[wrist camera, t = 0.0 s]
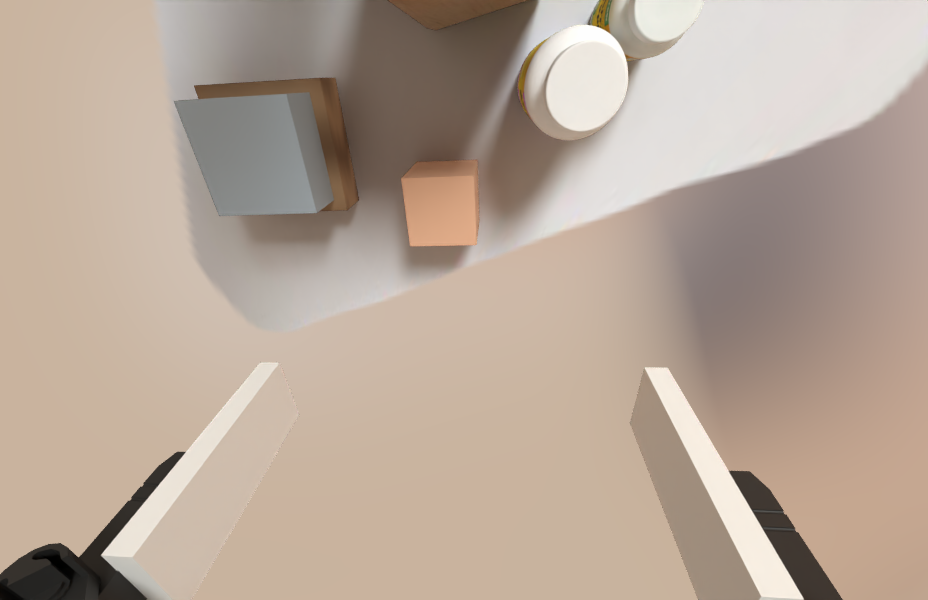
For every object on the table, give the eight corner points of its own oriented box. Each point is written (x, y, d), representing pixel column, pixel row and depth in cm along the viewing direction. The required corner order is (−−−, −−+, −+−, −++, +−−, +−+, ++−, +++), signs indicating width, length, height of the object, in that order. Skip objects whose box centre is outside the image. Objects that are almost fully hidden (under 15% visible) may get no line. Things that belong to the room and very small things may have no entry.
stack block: (416, 161, 37) (401, 178, 31) (477, 159, 36) (473, 175, 30) (423, 220, 40) (410, 246, 34) (479, 219, 39) (476, 245, 33)
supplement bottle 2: (657, 52, 31) (715, 44, 23) (590, 70, 32) (622, 67, 24) (658, -30, 28) (725, -74, 20) (585, -9, 29) (621, -43, 21)
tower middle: (208, 98, 32) (173, 101, 29) (309, 92, 31) (286, 94, 28) (245, 202, 37) (219, 216, 33) (334, 200, 36) (316, 213, 32)
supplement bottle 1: (501, 88, 33) (503, 93, 22) (558, 16, 30) (593, -18, 19) (553, 141, 35) (580, 171, 24) (611, 79, 32) (671, 80, 21)
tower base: (223, 84, 35) (193, 85, 32) (337, 77, 34) (319, 78, 31) (261, 201, 41) (240, 213, 37) (360, 198, 40) (347, 210, 36)
